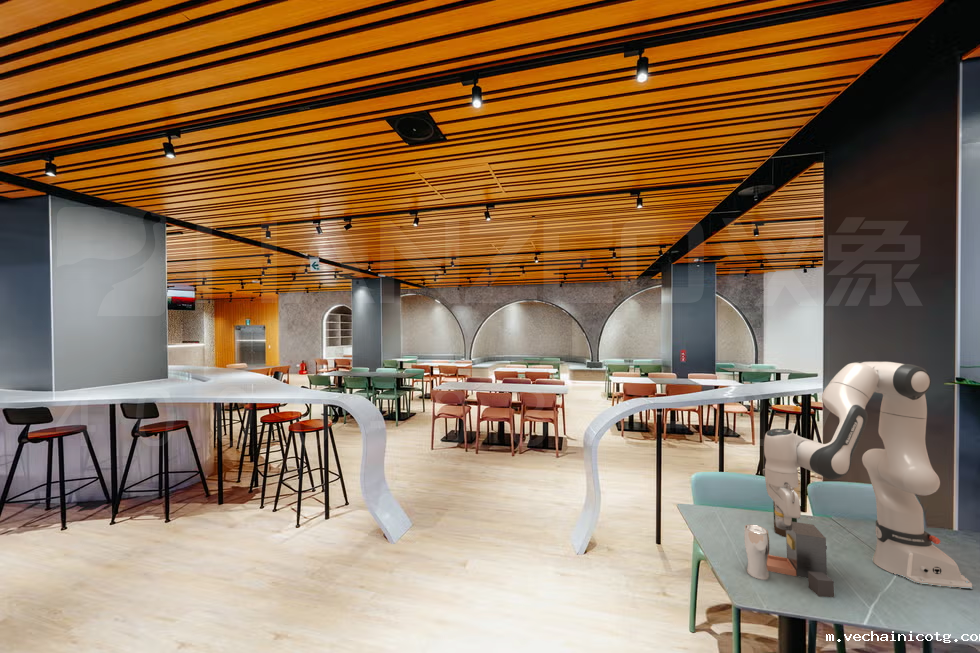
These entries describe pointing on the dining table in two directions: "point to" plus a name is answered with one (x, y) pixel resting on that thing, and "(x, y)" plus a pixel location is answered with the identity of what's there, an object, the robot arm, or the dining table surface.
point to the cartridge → (781, 520)
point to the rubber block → (821, 584)
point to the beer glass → (757, 551)
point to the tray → (780, 565)
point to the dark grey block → (806, 549)
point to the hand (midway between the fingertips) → (783, 520)
